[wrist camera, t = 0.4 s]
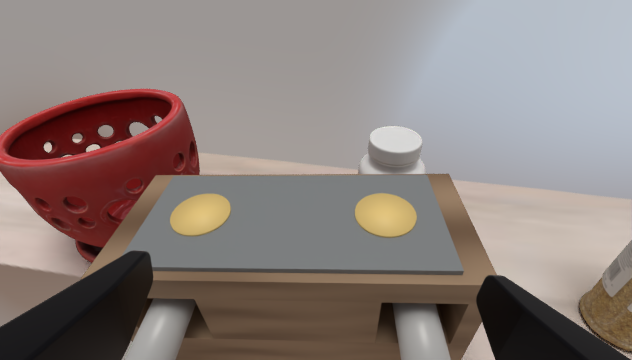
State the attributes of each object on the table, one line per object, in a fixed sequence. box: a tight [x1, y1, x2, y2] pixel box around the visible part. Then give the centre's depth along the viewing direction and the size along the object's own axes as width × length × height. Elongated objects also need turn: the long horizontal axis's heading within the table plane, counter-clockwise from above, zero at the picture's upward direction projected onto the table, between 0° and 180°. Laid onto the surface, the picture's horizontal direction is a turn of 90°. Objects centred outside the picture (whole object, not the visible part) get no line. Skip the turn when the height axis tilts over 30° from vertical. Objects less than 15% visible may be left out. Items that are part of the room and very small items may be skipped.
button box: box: [81, 174, 497, 360], centre depth 20 cm, size 8×19×10 cm, turn 88°
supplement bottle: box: [358, 126, 426, 174], centre depth 27 cm, size 5×5×10 cm
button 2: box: [124, 298, 196, 360], centre depth 16 cm, size 10×3×3 cm, turn 178°
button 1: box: [392, 303, 451, 360], centre depth 15 cm, size 10×3×3 cm, turn 178°
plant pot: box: [0, 89, 200, 263], centre depth 28 cm, size 13×13×12 cm
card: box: [122, 175, 464, 275], centre depth 17 cm, size 7×16×1 cm, turn 88°
